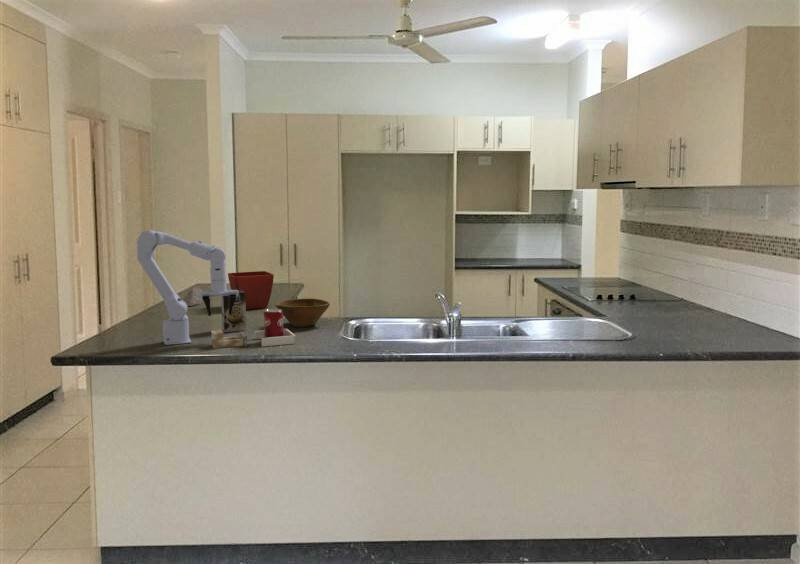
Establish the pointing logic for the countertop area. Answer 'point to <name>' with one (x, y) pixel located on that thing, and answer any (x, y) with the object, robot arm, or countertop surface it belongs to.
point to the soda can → (273, 323)
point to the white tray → (276, 338)
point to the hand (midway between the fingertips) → (219, 314)
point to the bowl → (303, 310)
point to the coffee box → (234, 314)
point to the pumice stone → (193, 296)
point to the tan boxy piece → (227, 339)
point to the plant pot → (253, 287)
